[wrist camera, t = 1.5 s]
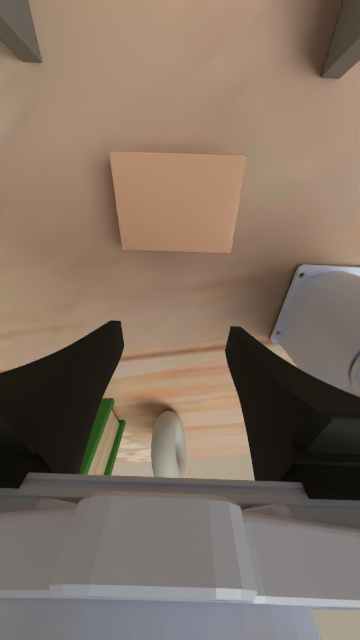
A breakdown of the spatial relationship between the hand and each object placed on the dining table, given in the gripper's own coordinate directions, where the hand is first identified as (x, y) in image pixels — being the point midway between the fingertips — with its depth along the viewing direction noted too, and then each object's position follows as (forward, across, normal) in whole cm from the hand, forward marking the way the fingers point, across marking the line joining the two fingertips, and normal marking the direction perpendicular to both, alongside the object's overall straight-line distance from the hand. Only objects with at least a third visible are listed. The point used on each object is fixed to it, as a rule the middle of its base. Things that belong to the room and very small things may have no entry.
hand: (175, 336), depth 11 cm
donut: (+9, 0, +24) cm, 25 cm away
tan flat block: (+9, 0, -7) cm, 12 cm away
